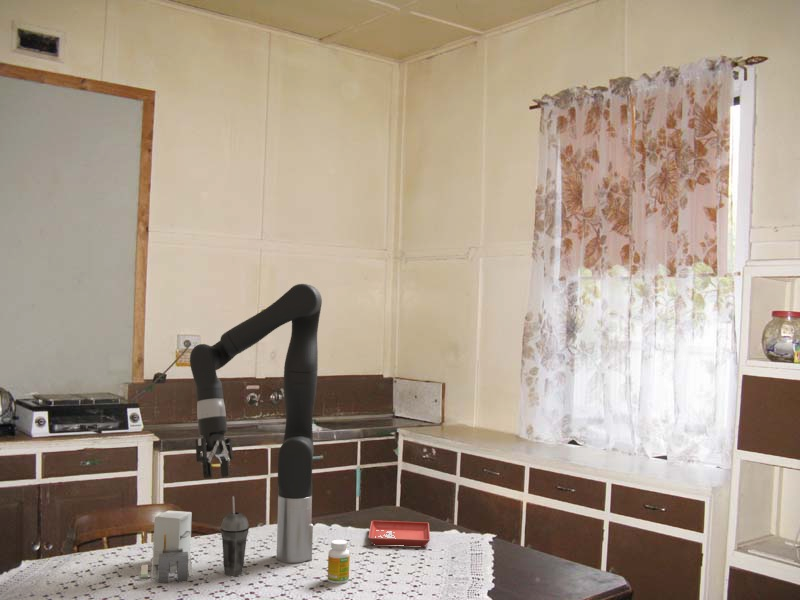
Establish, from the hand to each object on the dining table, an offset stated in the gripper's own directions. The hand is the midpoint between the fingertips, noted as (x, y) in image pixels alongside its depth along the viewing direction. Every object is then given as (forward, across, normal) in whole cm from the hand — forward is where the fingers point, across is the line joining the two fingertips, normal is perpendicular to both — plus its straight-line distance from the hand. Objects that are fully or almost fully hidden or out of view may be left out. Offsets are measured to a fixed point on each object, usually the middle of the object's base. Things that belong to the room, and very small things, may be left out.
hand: (217, 477), depth 206 cm
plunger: (+22, -10, +9) cm, 26 cm away
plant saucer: (+25, +44, -33) cm, 61 cm away
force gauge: (+21, -7, +13) cm, 26 cm away
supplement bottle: (+30, +4, -30) cm, 43 cm away
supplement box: (+20, -2, +15) cm, 25 cm away
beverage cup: (+25, -2, -4) cm, 25 cm away
